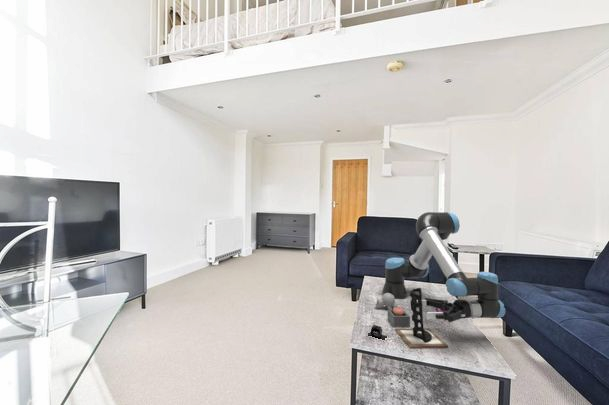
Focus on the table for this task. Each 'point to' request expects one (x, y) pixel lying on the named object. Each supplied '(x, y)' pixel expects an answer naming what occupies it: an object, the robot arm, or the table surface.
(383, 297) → the round bodied animal figurine
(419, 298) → the holder
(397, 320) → the button housing
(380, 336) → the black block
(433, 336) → the board
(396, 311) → the button
